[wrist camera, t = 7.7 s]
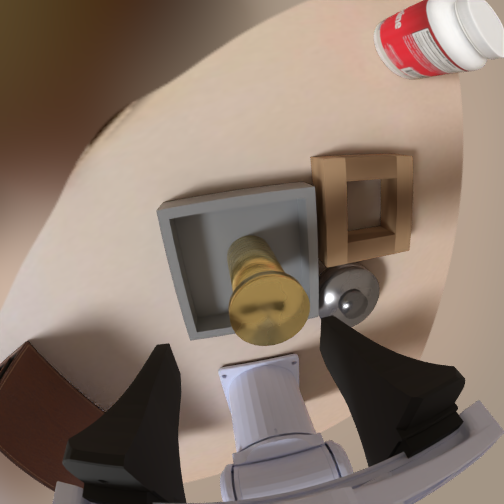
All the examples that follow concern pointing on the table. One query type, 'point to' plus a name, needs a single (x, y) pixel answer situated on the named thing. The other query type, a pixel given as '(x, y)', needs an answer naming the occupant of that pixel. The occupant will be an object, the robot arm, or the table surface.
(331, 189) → the block
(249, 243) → the lock pin
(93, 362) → the table surface
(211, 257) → the tray
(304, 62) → the table surface
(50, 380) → the letter holder
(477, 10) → the pill bottle
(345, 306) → the pulley
